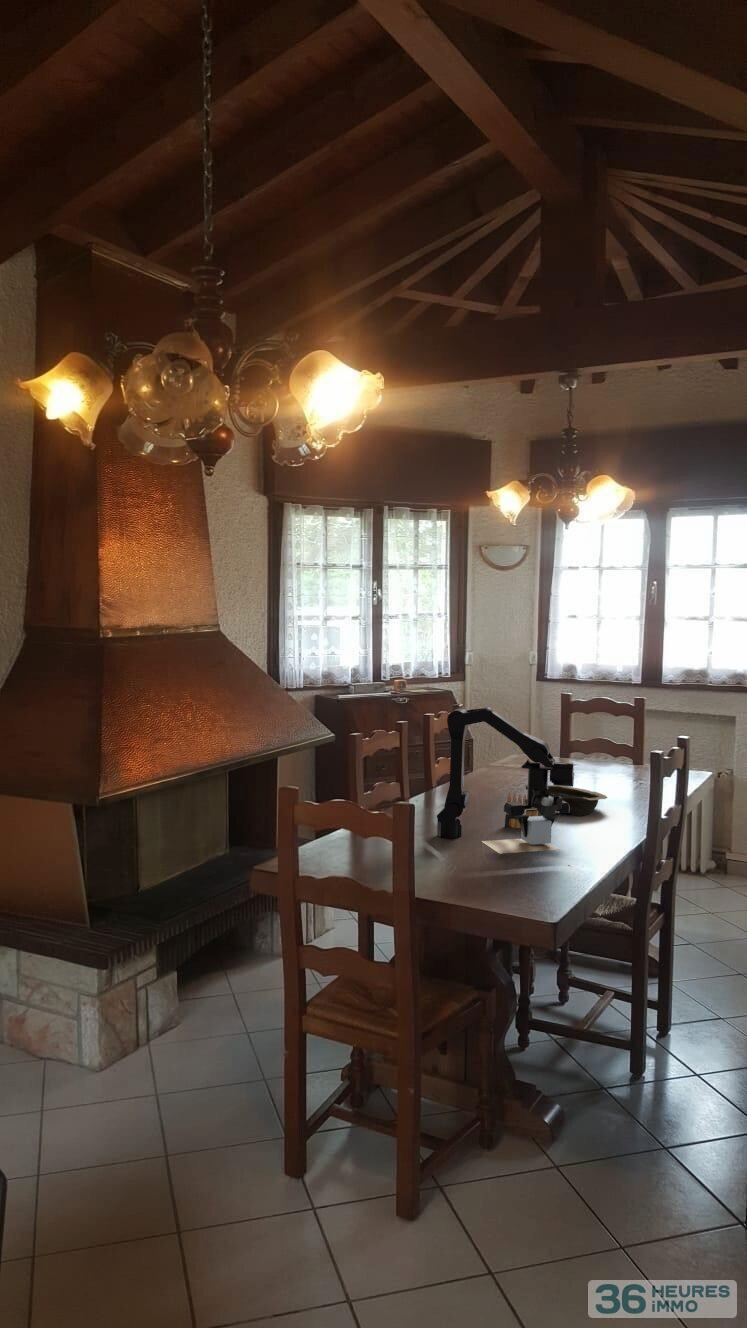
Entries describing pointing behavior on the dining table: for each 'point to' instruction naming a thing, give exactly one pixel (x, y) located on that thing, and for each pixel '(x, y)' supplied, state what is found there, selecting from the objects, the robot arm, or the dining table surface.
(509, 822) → the ammunition clip
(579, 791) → the stone bowl
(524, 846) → the stub board
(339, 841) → the dining table surface
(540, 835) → the pale grey cube
